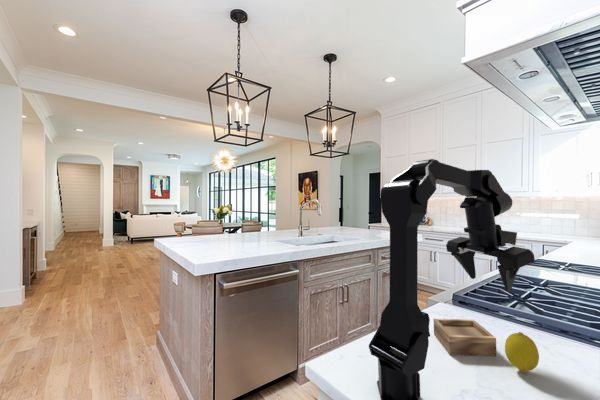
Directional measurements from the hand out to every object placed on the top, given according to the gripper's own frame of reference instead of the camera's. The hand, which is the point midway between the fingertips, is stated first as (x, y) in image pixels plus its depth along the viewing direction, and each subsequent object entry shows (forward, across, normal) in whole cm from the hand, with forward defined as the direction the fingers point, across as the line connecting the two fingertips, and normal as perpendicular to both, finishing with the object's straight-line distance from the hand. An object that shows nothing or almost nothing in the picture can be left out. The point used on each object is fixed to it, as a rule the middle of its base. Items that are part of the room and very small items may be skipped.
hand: (490, 283), depth 69 cm
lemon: (+14, -11, +7) cm, 19 cm away
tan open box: (+13, +2, +9) cm, 16 cm away
